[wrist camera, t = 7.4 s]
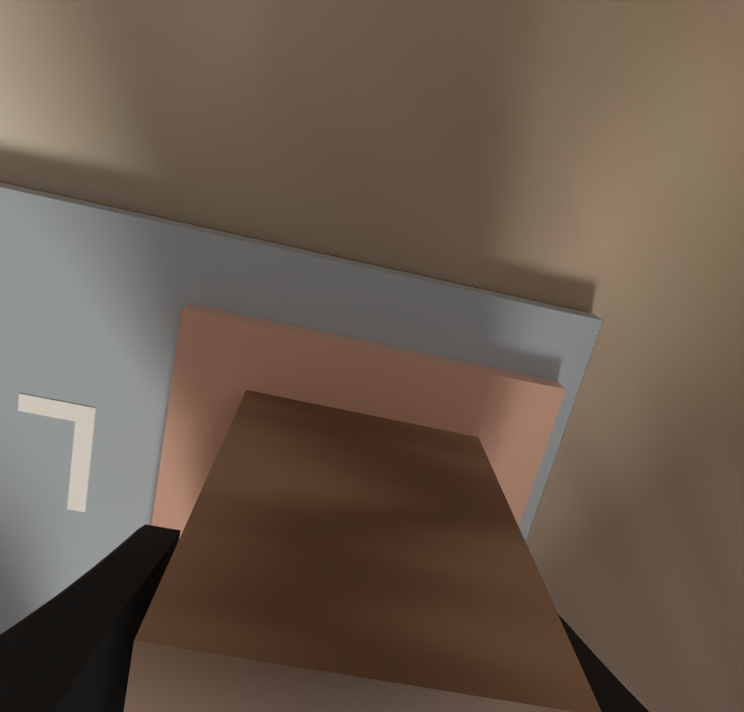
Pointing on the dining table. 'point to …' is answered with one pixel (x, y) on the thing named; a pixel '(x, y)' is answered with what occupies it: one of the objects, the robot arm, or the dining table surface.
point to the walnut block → (351, 579)
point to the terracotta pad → (339, 398)
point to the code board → (157, 356)
